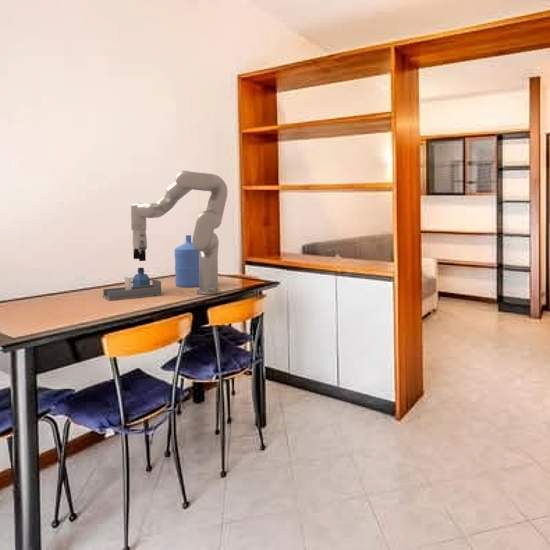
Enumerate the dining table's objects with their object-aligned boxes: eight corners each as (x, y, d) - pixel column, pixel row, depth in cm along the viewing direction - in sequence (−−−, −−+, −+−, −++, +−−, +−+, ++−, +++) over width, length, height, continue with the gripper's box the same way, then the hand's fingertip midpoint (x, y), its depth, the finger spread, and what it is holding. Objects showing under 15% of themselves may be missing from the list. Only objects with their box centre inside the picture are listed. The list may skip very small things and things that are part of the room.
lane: (161, 295, 260) (161, 281, 259) (109, 300, 247) (108, 286, 246) (154, 291, 270) (153, 278, 269) (102, 296, 257) (102, 282, 256)
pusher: (134, 294, 255) (133, 277, 254) (129, 295, 254) (128, 278, 253) (130, 292, 261) (129, 275, 260) (125, 292, 260) (124, 276, 259)
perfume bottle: (140, 291, 271) (139, 269, 269) (133, 290, 274) (132, 268, 273) (150, 290, 276) (149, 267, 274) (142, 289, 279) (141, 267, 278)
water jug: (201, 287, 283) (200, 236, 280) (172, 287, 284) (171, 236, 280) (205, 283, 299) (204, 234, 295) (178, 283, 299) (177, 234, 295)
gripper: (151, 228, 265) (151, 261, 268) (140, 226, 280) (141, 257, 282) (136, 228, 261) (137, 262, 264) (126, 226, 276) (127, 258, 278)
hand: (139, 259), depth 273 cm, fingers open, 9 cm apart
